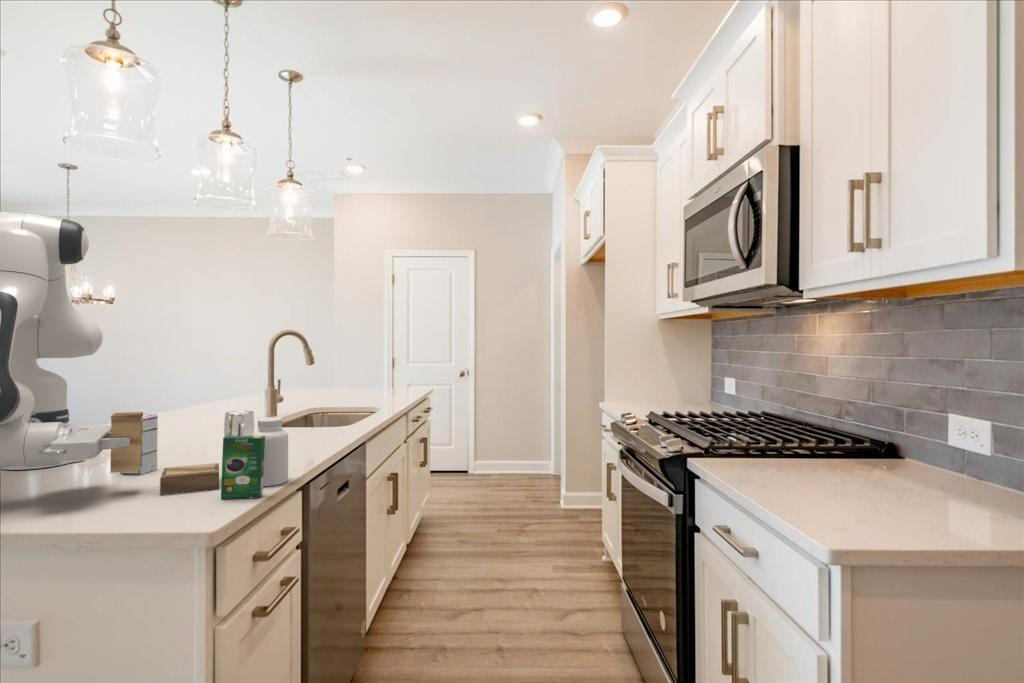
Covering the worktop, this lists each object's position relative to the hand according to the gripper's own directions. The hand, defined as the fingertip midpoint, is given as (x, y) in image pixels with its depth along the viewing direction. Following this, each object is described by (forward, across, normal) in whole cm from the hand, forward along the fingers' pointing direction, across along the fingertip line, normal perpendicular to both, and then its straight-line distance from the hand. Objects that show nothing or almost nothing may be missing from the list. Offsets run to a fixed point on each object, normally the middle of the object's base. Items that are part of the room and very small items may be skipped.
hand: (132, 438), depth 115 cm
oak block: (-1, 0, +7) cm, 7 cm away
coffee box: (+21, -14, +12) cm, 28 cm away
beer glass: (+21, +12, +12) cm, 27 cm away
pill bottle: (+27, -4, +12) cm, 30 cm away
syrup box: (-1, +21, +12) cm, 24 cm away
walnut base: (+11, 0, +12) cm, 16 cm away
